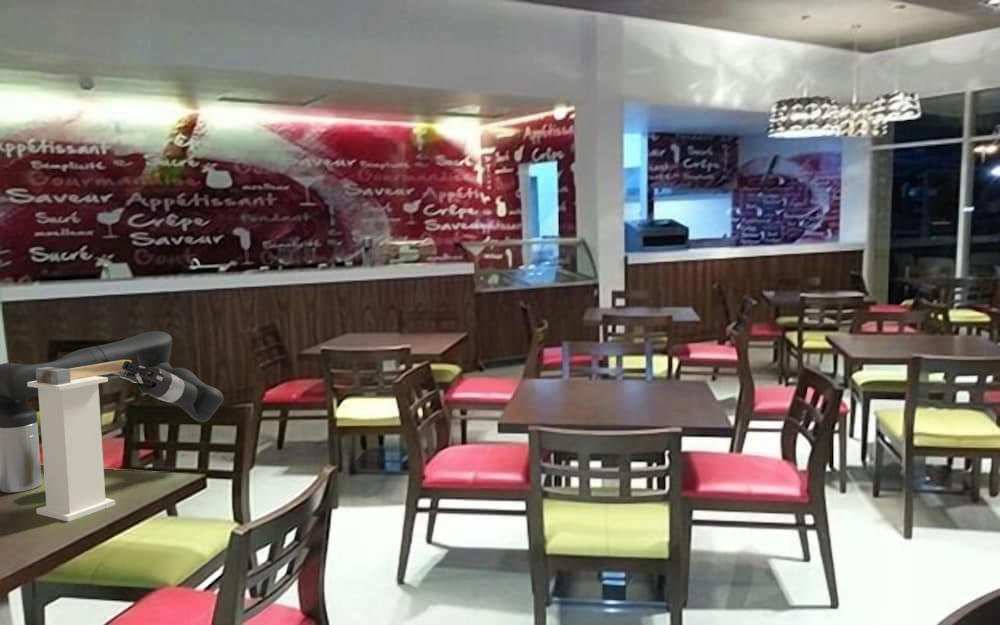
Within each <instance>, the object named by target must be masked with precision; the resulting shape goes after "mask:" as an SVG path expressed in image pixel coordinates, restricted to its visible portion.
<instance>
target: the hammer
mask: <svg viewBox="0 0 1000 625" xmlns="http://www.w3.org/2000/svg"><path fill="white" fill-rule="evenodd" d="M125 361H129V362H131V363H133V362H132V360H130V359H129V360H119V361H112V362H106V363H100V364H94V365H88V366H82V367H76V368H70V369H64V368H55V367H44V368H38V369H36V378H37V382H39V383H47V384H55V385H61V384H66V383H71V380H77V379H82V378H88V377H94V376H99V375H105V374H109V375H111V374H110V373H116V372H121V371H126V370H124V369H122V366H123V364H124V362H125Z"/></svg>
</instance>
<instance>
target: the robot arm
mask: <svg viewBox="0 0 1000 625" xmlns="http://www.w3.org/2000/svg"><path fill="white" fill-rule="evenodd" d="M172 347H173V338H172V336H171V335H170V334H169V333H167V332H166V331H161V330H160V331H159V330H157V331H156V330H155V331H154V330H153V331H147V332H142V333H140V334H137V335H134V336H132V337H128V338H126V339H122V340H118V341H115V342H109V343H106V344H101V345H95V346H91V347H86V348H81V349H78V350H75V351H72V352H71V353H68V354H66V355H64V356H62V357H61V358H59V359H55V360H53V361H47V362H42V363H34V364H24V363H22V364H20V363H14V362H5V363H4V362H3V363H0V492H3V493H20V492H26V491H29V490H34V489H36V488H38V487H40V486H42V484H43V482H42V478H43V477H42V467H41V466H42V465H41V455H40V454H41V452H40V438H39V436H40V435H39V426H38V414H37V411H36V409H34V408H33V406H31V405H30V403H29V401H28V400H29V398H32V397H35V396H39V394H38V388H35V387H28V386H27V382H32V381H37V378H36V369H38V368H44V367H55V368H64V369H70V368H76V367H82V366H88V365H94V364H100V363H106V362H112V361H119V360H130V359H132V358H133V357H135V356H137V357H136V358H137V362H138V363H139V365H138V364H135V363H133V362H132V363H131V362H129V361H125V362H124V364H123V366H122V369H124V370H126V371H121V372H116V373H110V374H105V375H99V377H107V376H109V375H114V376H116V377H119V378H121V379H123V380H125V381H130V382H132V383H134V384H138V389H139V391H140V392H141V393H143V394H146V395H148V396H151V397H152V398H155V399H157V400H159V401H163V402H166V403H170V404H172V405H174V406H177V407H179V408H181V409H182V410H183V411H184V412H186V413H187V415H189V416H190V417H191V418H192V419H193V420H194V421H196V422H198V423H205V422H207V421H209V420H210V419H211V418H212V416H213V415H214V414H215V413H216V411H217V410H218V409H219V408H220V407H221V405H222V404H223V402H224V395H223V392H221V390H219V389H217V388H216V387H214V386H210V385H209V384H206V383H205V382H202V381H201V379H199V378H198V377H197V376H196V375H195V374H194V373H193V372H192V371H190V370H189V369H187V368H184V367H172V365H171V364H170V362H169V360H170V359H171V353H172Z"/></svg>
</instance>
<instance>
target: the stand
mask: <svg viewBox="0 0 1000 625" xmlns="http://www.w3.org/2000/svg"><path fill="white" fill-rule="evenodd" d="M107 382H109V378H108V377H107V376H104V377H99V376H94V377H88V378H82V379H77V380H71V383H66V384H61V385H55V384H47V383H39V382H37V381H32V382H27V386H28V387H35V388H38V405H39V407H38V408H39V417H40V418H39V419H40V420H39V421H40V422H39V424H40V434H41V435H40V436H41V448H42V449H41V450H42V451H41V452H42V462H43V463H42V464H43V476H44V480H43V481H44V488H45V489H44V493H45V503H46V504H45V505H44V506H41V507H37V508H36V514H37V515H41V516H44V517H49V518H53V519H55V520H60V521H64V522H71V521H74V520H77V519H80V518H83V517H87V516H88V515H92V514H93V513H97V512H99V511H103V510H105V508H106V509H108V508H110V507H111V508H112V507H113V506H116V500H115V499H112V498H107V497H106V487H105V486H106V485H105V471H104V470H105V469H104V455H103V454H104V453H103V452H104V451H103V440H102V438H103V437H102V423H101V421H102V419H101V406H100V405H101V404H100V402H101V401H100V389H99V384H103V383H107Z"/></svg>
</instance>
